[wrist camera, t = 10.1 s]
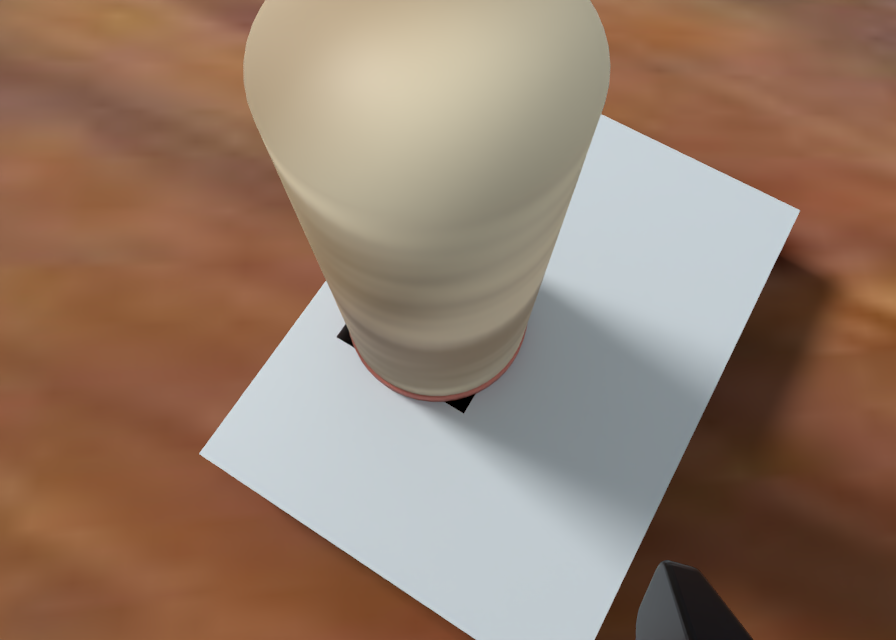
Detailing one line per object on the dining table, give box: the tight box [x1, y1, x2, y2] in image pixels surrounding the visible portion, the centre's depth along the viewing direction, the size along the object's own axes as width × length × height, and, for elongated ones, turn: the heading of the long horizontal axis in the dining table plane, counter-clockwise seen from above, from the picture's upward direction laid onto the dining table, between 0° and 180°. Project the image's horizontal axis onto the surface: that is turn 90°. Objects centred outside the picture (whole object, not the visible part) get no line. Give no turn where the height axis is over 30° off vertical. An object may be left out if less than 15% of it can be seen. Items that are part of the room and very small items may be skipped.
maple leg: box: [244, 0, 610, 402], centre depth 15 cm, size 5×5×13 cm
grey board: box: [199, 114, 800, 640], centre depth 20 cm, size 12×16×2 cm
